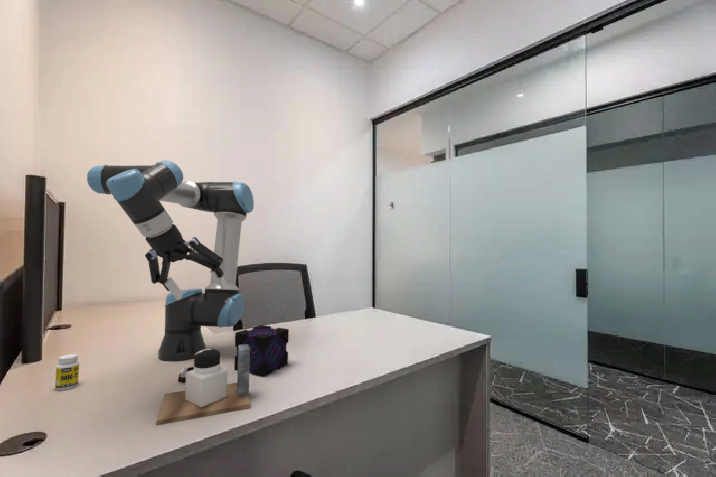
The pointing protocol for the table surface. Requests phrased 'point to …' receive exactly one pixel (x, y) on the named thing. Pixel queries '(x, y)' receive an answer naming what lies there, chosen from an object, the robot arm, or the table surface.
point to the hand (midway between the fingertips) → (202, 291)
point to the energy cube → (264, 349)
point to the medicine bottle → (206, 379)
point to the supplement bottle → (67, 372)
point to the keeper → (236, 399)
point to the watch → (182, 374)
